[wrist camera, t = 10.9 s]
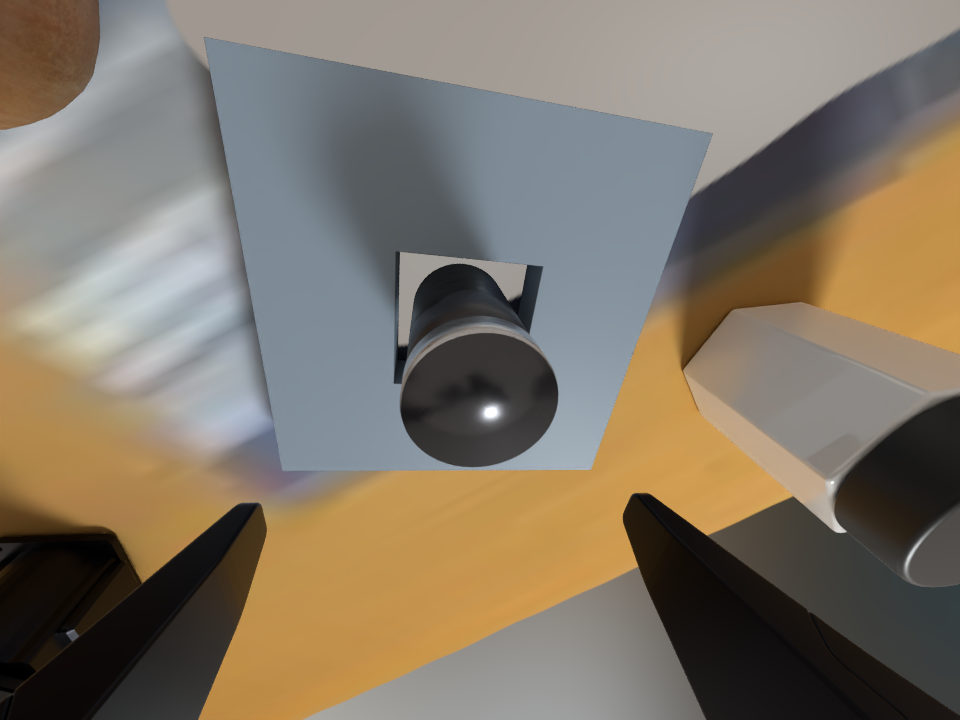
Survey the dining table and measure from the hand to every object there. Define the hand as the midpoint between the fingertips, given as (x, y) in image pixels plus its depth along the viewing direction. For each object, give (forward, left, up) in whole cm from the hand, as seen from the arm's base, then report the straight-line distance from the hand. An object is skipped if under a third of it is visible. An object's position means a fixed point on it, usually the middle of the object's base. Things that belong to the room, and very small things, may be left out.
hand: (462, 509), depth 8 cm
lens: (+1, +1, -12) cm, 12 cm away
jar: (+20, -1, -12) cm, 23 cm away
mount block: (+1, +1, -12) cm, 12 cm away
